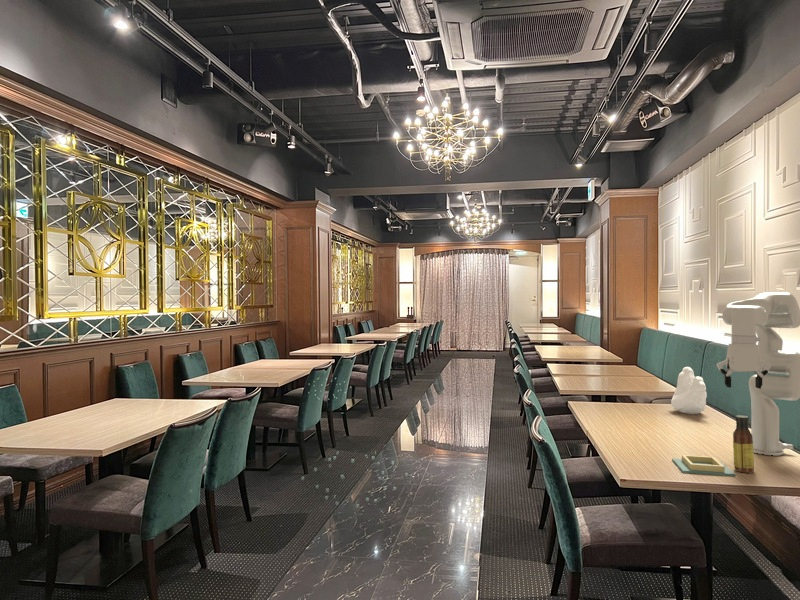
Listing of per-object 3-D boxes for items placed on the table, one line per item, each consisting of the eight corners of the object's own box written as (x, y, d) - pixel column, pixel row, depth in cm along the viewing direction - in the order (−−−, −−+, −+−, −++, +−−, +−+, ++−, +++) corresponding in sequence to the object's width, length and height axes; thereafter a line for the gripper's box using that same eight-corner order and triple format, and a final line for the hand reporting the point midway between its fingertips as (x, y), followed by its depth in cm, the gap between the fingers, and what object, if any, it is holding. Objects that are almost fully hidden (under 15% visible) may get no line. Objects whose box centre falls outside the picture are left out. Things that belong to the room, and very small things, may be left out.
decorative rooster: (668, 408, 308) (668, 364, 308) (699, 410, 304) (699, 365, 304) (680, 418, 284) (680, 370, 284) (713, 420, 280) (713, 371, 280)
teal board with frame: (721, 463, 206) (721, 456, 206) (735, 476, 192) (735, 468, 192) (672, 460, 210) (672, 453, 210) (682, 472, 196) (682, 464, 196)
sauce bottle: (755, 470, 198) (755, 416, 198) (752, 474, 193) (752, 419, 193) (734, 467, 202) (735, 413, 202) (731, 471, 198) (731, 416, 198)
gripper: (766, 340, 199) (765, 386, 199) (713, 339, 203) (713, 385, 203) (775, 341, 192) (774, 390, 192) (720, 340, 196) (720, 388, 196)
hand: (743, 387), depth 198 cm, fingers open, 9 cm apart
